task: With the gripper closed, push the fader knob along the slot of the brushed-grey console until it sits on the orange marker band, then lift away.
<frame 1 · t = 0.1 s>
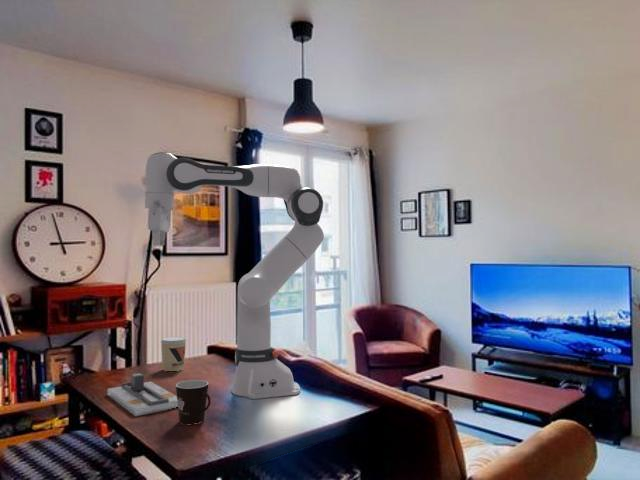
hand: (158, 245, 158), 48 cm above the table, fingers open, 8 cm apart
console: (143, 400, 151), on the table
coffee cup: (173, 370, 191), on the table
fader knob: (137, 396, 156), resting on console, slide at -6.0 cm
coffee mug: (192, 423, 132), on the table
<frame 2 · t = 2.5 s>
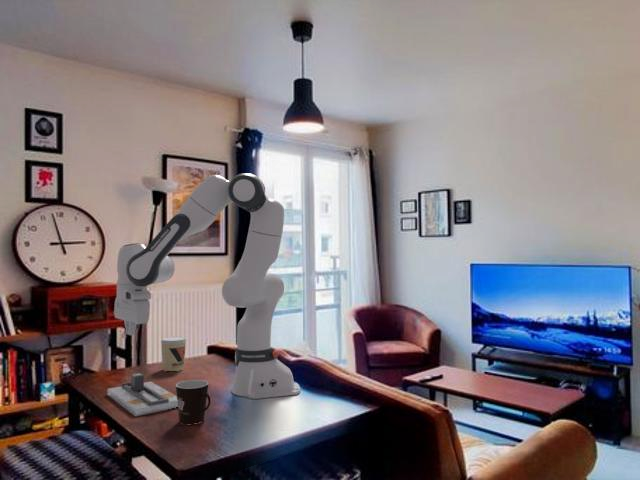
hand: (130, 334, 162), 19 cm above the table, fingers closed
nothing on the table moved.
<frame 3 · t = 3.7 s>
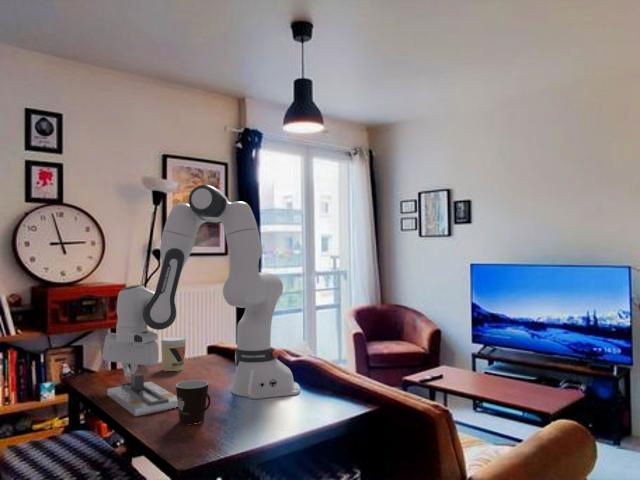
hand: (129, 376, 162), 5 cm above the table, fingers closed
nothing on the table moved.
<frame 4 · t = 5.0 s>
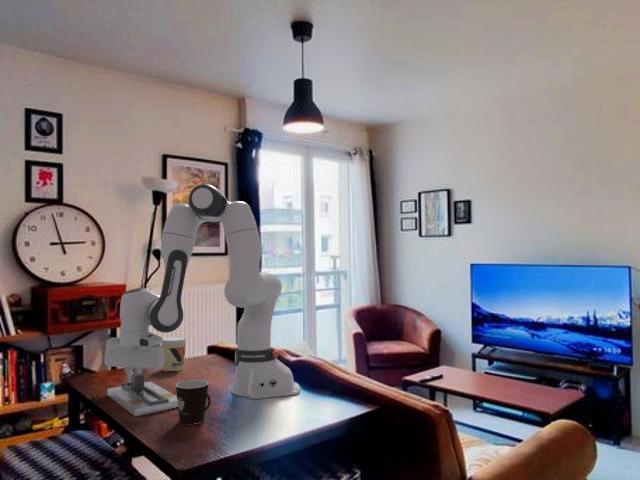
hand: (133, 381, 159), 4 cm above the table, fingers closed
fader knob: (137, 396, 155), resting on console, slide at -5.8 cm, touching gripper
everything else where it was.
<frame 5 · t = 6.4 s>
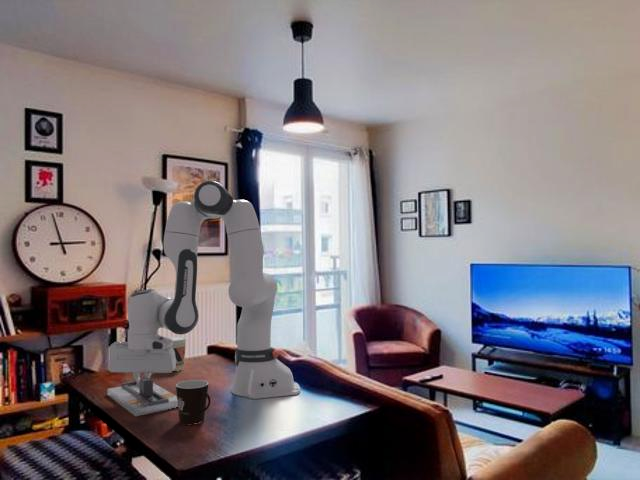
hand: (142, 386, 153), 4 cm above the table, fingers closed
fader knob: (146, 402, 150), resting on console, slide at 1.9 cm, touching gripper
everything else where it was.
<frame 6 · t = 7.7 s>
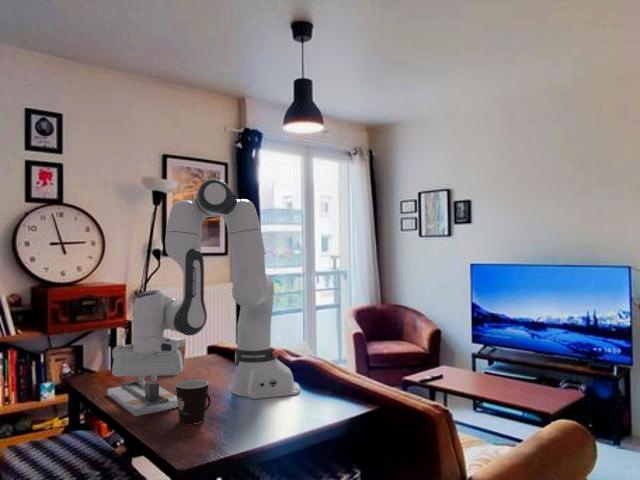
hand: (147, 390, 149), 4 cm above the table, fingers closed
fader knob: (151, 405, 146), resting on console, slide at 6.7 cm, touching gripper
everything else where it was.
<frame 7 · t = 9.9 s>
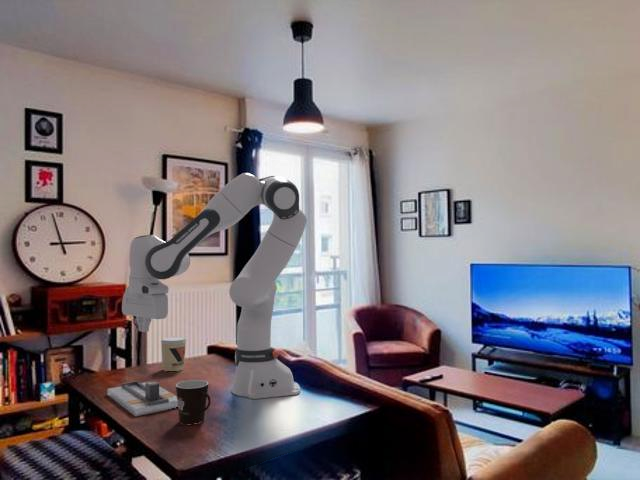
hand: (143, 331, 153), 21 cm above the table, fingers closed
fader knob: (152, 406, 146), resting on console, slide at 6.9 cm
everything else where it was.
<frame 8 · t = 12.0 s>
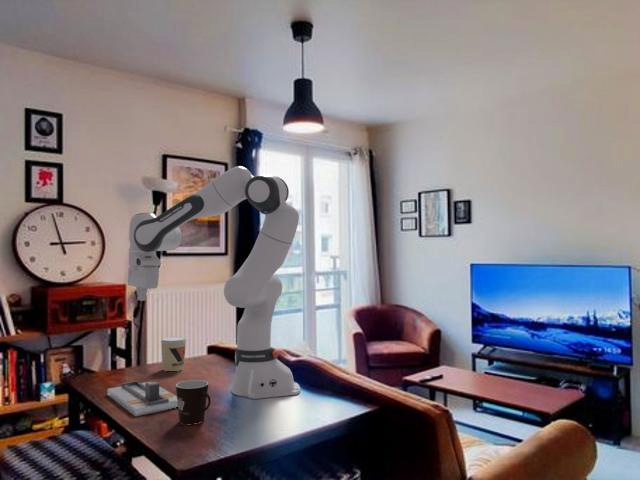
hand: (141, 300, 168), 29 cm above the table, fingers closed
nothing on the table moved.
at the end: fader knob slide at 6.9 cm; fader knob touching nothing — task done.
